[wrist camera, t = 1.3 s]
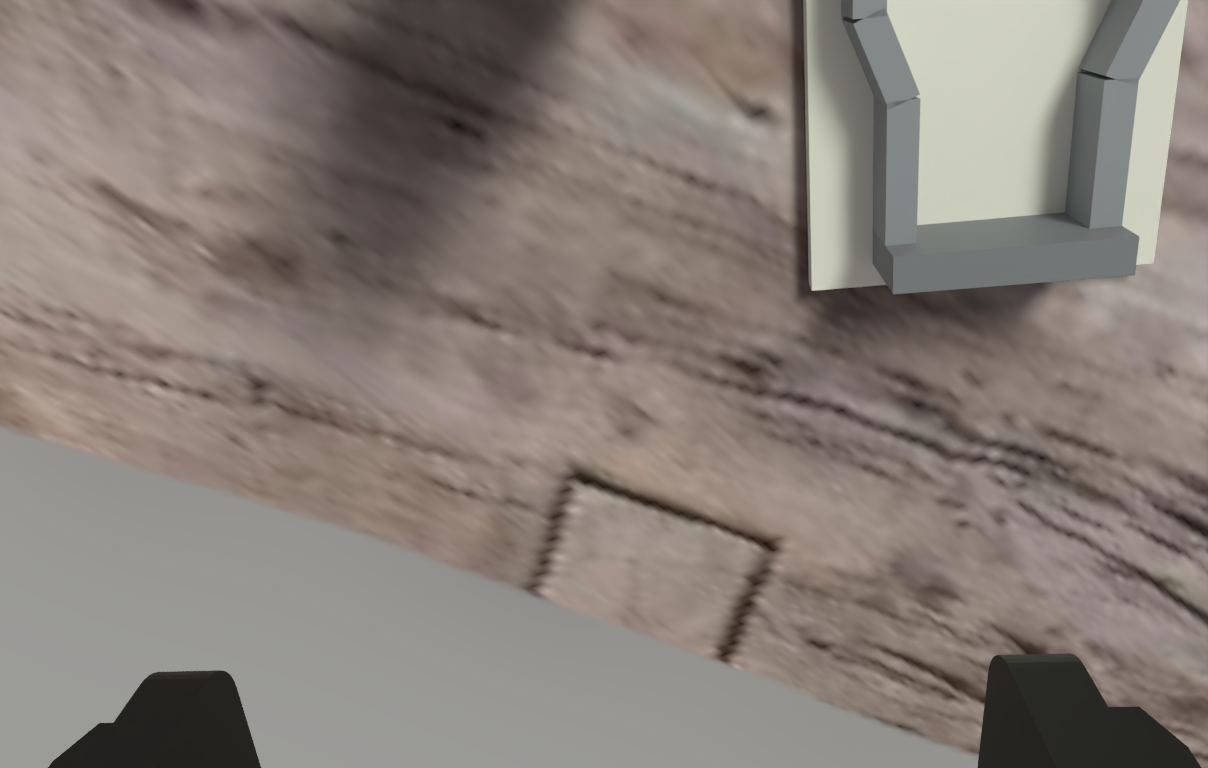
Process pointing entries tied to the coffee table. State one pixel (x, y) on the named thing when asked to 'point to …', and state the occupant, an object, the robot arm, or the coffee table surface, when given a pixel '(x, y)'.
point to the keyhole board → (985, 139)
